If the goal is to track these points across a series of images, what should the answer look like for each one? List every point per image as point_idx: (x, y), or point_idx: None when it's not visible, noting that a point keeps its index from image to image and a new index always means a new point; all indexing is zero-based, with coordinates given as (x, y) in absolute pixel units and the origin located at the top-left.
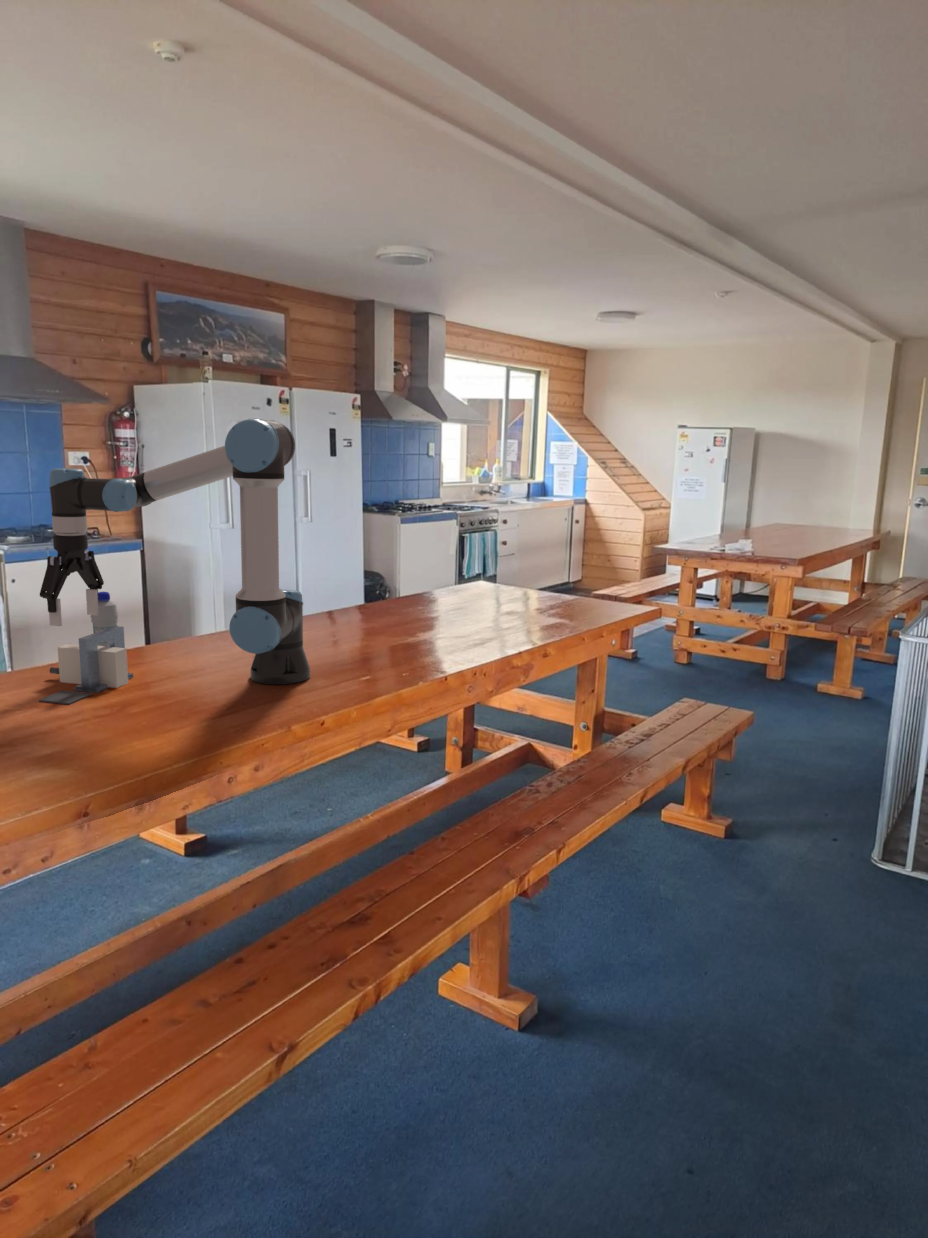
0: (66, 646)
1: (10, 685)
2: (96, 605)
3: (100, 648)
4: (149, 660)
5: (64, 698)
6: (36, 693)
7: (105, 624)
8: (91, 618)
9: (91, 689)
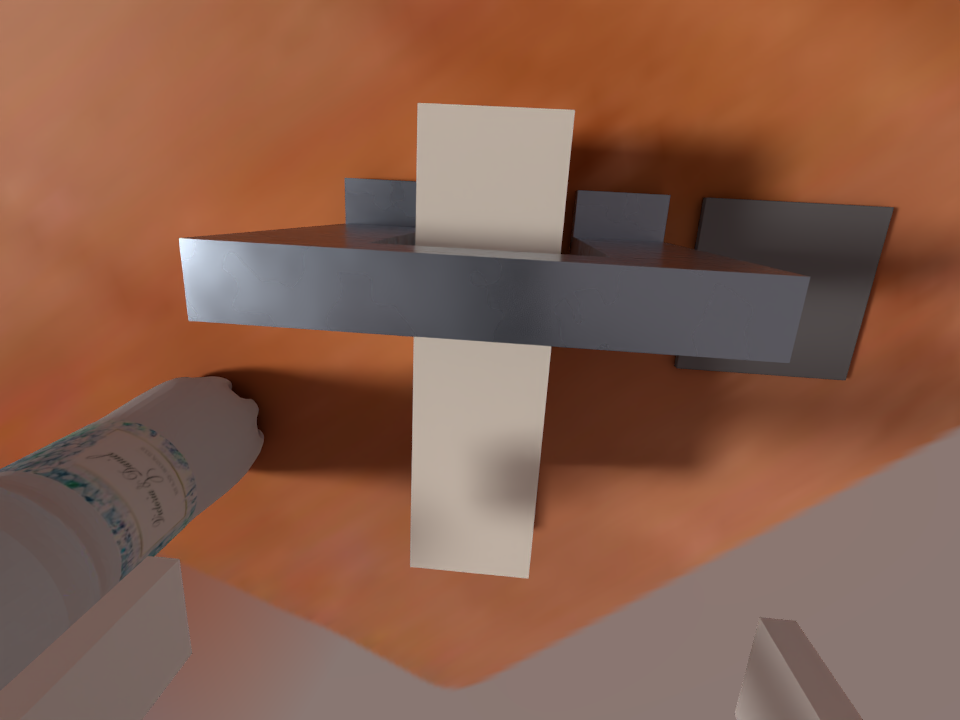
0: (494, 541)
1: (617, 609)
2: (81, 649)
3: None
4: (57, 280)
5: (815, 277)
6: (713, 457)
7: (76, 519)
8: None
9: (663, 228)
